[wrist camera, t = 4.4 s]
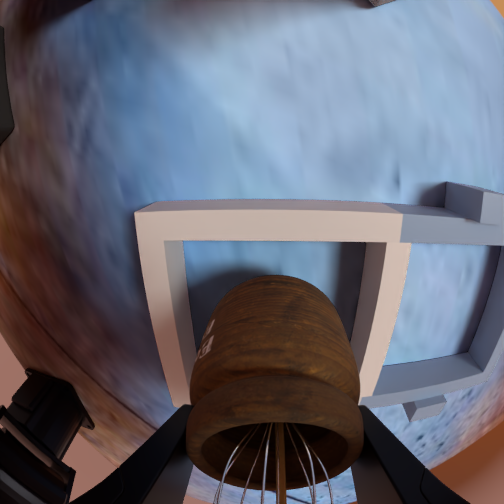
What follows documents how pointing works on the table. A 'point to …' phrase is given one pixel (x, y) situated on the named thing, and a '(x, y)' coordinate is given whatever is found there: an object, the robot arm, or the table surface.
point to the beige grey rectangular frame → (372, 285)
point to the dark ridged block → (4, 95)
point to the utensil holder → (274, 390)
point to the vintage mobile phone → (379, 2)
